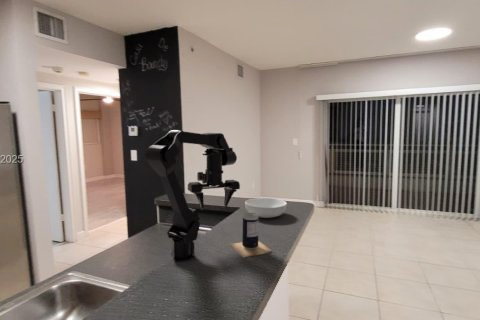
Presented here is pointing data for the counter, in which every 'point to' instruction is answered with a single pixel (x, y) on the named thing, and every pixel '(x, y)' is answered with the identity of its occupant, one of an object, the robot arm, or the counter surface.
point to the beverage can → (250, 230)
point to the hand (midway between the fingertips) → (214, 208)
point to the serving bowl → (266, 207)
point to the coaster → (246, 252)
